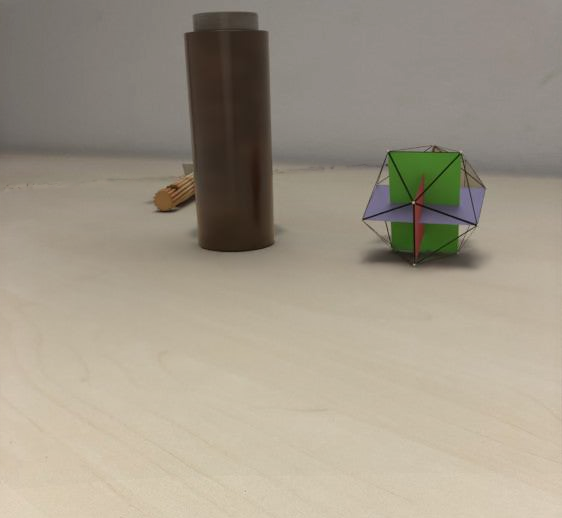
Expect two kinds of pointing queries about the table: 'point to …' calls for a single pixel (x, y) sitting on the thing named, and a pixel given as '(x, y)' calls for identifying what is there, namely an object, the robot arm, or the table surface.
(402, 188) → the geometric puzzle
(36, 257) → the table surface
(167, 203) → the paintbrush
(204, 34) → the pepper mill
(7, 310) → the table surface
